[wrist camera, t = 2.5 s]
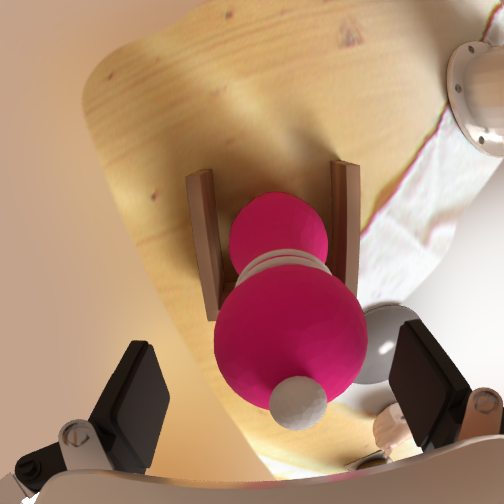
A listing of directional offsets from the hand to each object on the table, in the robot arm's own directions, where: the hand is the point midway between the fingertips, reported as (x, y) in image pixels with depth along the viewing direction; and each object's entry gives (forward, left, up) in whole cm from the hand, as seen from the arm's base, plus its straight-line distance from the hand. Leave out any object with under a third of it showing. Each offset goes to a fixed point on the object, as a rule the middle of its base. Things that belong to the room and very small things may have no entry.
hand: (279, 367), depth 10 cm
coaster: (+6, +17, -17) cm, 25 cm away
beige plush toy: (+15, +27, -17) cm, 36 cm away
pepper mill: (-1, 0, -17) cm, 17 cm away
